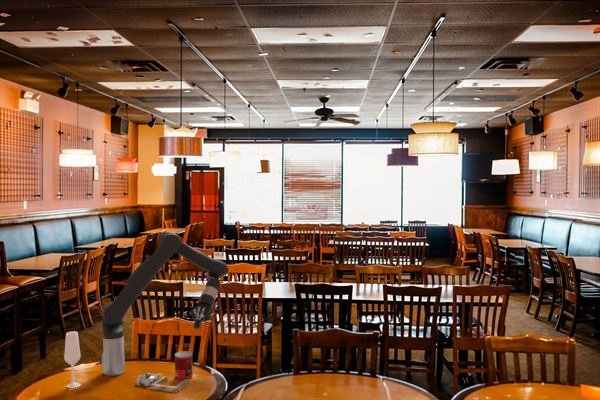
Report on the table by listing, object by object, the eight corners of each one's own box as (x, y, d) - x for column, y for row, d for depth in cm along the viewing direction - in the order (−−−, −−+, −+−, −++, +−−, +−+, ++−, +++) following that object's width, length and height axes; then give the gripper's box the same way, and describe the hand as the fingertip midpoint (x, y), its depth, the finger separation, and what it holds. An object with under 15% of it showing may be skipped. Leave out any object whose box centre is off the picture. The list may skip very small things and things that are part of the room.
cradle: (150, 388, 235) (150, 384, 235) (164, 380, 245) (164, 376, 245) (176, 392, 231) (176, 388, 231) (189, 383, 240) (189, 379, 240)
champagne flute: (84, 384, 241) (83, 331, 240) (74, 390, 235) (72, 335, 234) (72, 382, 243) (71, 330, 242) (61, 388, 237) (60, 334, 236)
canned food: (188, 380, 244) (188, 357, 243) (172, 379, 245) (171, 356, 245) (195, 374, 251) (194, 351, 251) (179, 373, 253) (178, 350, 252)
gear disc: (132, 384, 240) (132, 376, 240) (145, 377, 249) (145, 368, 249) (151, 387, 236) (150, 378, 236) (163, 379, 245) (163, 371, 245)
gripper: (193, 292, 269) (180, 323, 258) (217, 294, 264) (205, 325, 253) (199, 300, 274) (187, 331, 263) (222, 302, 270) (210, 333, 259)
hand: (195, 328), depth 258 cm, fingers closed
